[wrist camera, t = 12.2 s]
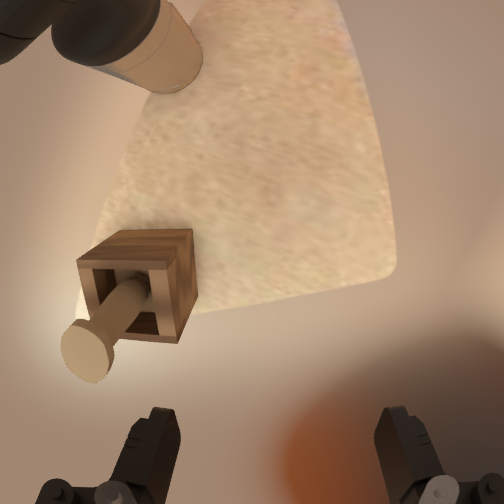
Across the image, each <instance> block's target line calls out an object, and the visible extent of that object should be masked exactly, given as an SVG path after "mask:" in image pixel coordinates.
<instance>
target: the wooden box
mask: <svg viewBox="0 0 504 504" xmlns="http://www.w3.org/2000/svg"><path fill="white" fill-rule="evenodd" d="M76 262H77V266H78V271H79V276H80V280H81V285H82V289H83V293H84V297H85V301H86V305H87V309H88V313H89V316H90V319H91V317H92V316H93V315H94V314H95V312H96V311H97V310H98V308H99V307H100V306H101V304H102V303H103V302H104V300H105V299H106V298H107V297H108V295H109V294H110V293H111V292H112V291H113V290H114V289H115V288H116V287H117V286H118V285H119V284H120V283H122V282H123V281H124V280H126V279H128V278H130V277H132V276H133V275H134V274H135V273H141V274H142V275H143V276H147V277H148V278H149V279H150V280H149V283H150V286H151V293H150V295H149V296H148V298H147V300H146V303H145V304H144V306H143V308H142V310H141V311H140V313H139V314H138V316H137V317H136V319H135V320H134V321H133V322H132V324H131V325H130V326H129V327H128V328H127V330H126V331H125V332H124V333H123V335H122V336H121V337H120V338H119V339H128V340H139V341H149V342H161V343H174V344H178V341H179V339H180V337H181V334H182V332H183V329H184V327H185V325H186V322H187V320H188V318H189V315H190V313H191V311H192V308H193V306H194V304H195V301H196V299H197V297H198V291H197V280H196V269H195V258H194V245H193V232H192V229H160V230H121V231H118V232H117V233H115V234H114V235H112V236H111V237H109V238H108V239H106V240H105V241H103V242H102V243H100V244H99V245H97V246H96V247H94V248H93V249H91V250H90V251H88V252H87V253H85V254H84V255H82V256H81V257H80V258H78V259H77V260H76Z"/></svg>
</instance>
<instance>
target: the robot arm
mask: <svg viewBox="0 0 504 504" xmlns="http://www.w3.org/2000/svg"><path fill="white" fill-rule="evenodd" d="M51 24H52V28H51V35H52V41H53V44H54V46H55V48H56V49H57V51H58V52H59V53H60V54H61V55H62V56H63V57H64V58H66V59H68V60H71V61H73V62H75V63H78V64H81V65H84V66H87V67H90V68H93V69H95V70H98V71H101V72H104V73H107V74H109V75H112V76H115V77H117V78H120V79H122V80H125V81H127V82H130V83H133V84H135V85H138V86H140V87H142V88H145V89H147V90H149V91H152V92H155V93H160V94H168V93H172V92H176V91H178V90H181V89H183V88H184V87H186V86H187V85H188V84H190V83H191V82H192V81H193V80H194V78H195V77H196V76H197V74H198V72H199V70H200V68H201V64H202V51H201V47H200V46H199V44H198V42H197V41H196V39H195V38H194V36H193V35H192V30H191V29H190V27H189V26H188V24H187V23H186V22H185V20H184V19H183V17H182V16H181V15H180V13H179V12H178V11H177V9H176V8H175V6H174V5H173V4H172V3H170V2H168V1H167V0H0V65H1V64H4V63H7V62H9V61H10V60H11V59H13V58H14V57H16V56H17V55H18V54H19V53H21V52H22V51H23V50H24V49H25V48H26V47H27V46H28V45H29V44H31V43H32V42H33V41H34V40H35V39H36V38H37V37H38V36H39V35H40V34H41V33H43V32H44V31H45V30H46V29H47V28H48V27H49V26H50V25H51ZM180 442H181V434H180V429H179V426H178V423H177V420H176V416H175V412H174V410H173V409H167V408H159V407H154V408H153V409H152V411H151V414H150V416H149V419H145V418H140V419H139V420H138V421H137V422H136V423H135V424H134V425H133V426H132V427H131V430H130V432H129V434H128V438H127V439H126V441H125V444H124V447H123V449H122V451H121V454H120V456H119V459H118V461H117V463H116V466H115V468H114V471H113V473H112V476H111V478H110V479H109V480H108V481H107V482H104V483H102V484H101V485H99V486H98V487H94V488H92V487H91V488H90V487H88V488H87V487H72V486H71V485H70V484H69V483H68V482H66V481H65V480H62V479H51V480H49V481H47V482H46V483H45V484H44V485H43V487H42V489H41V491H40V493H39V496H38V498H37V501H36V503H35V504H165V501H166V497H167V493H168V489H169V486H170V482H171V478H172V474H173V470H174V466H175V462H176V459H177V455H178V451H179V447H180ZM374 443H375V447H376V450H377V454H378V458H379V461H380V465H381V469H382V473H383V477H384V480H385V484H386V488H387V492H388V496H389V500H390V504H504V478H503V477H502V476H501V475H499V474H497V473H489V474H486V475H485V476H483V477H482V478H481V479H480V480H479V481H476V482H457V481H456V480H455V479H453V478H452V477H450V476H446V475H445V473H444V471H443V469H442V466H441V464H440V461H439V460H438V457H437V454H436V452H435V449H434V447H433V444H431V440H430V437H429V436H428V433H427V431H426V428H425V426H424V424H423V423H422V422H421V421H420V420H419V419H418V418H417V417H416V416H410V417H409V415H408V413H407V410H406V408H405V407H404V406H403V405H400V406H394V407H387V408H384V410H383V412H382V414H381V417H380V420H379V422H378V424H377V427H376V429H375V433H374Z"/></svg>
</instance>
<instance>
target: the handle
mask: <svg viewBox="0 0 504 504" xmlns="http://www.w3.org/2000/svg"><path fill="white" fill-rule="evenodd" d="M149 280H150V279H149V278H148V277H147V276H143V275H142V274H141V273H135V274H134V275H133V276H132V277H130V278H128V279H126V280H124V281H123V282H122V283H120V284H119V285H118V286H117V287H116V288H115V289H114V290H113V291H112V292H111V293H110V294H109V295H108V297H107V298H106V299H105V300H104V302H103V303H102V304H101V306H100V307H99V308H98V310H97V311H96V312H95V314H94V315H93V316H92V317H91V319H90V320H89V321H88V320H85V319H77V320H76V321H75V322H74V323H73V324H72V325H71V326H70V327H69V328H68V329H67V330H66V331H65V332H64V334H63V335H62V339H61V353H62V356H63V359H64V361H65V364H66V366H67V367H68V369H69V370H70V371H71V372H72V373H74V374H75V375H76V376H78V377H79V378H81V379H83V380H85V381H87V382H90V383H98V382H99V381H101V380H102V379H104V377H105V376H106V375H107V374H108V372H109V370H110V368H111V366H112V363H113V360H114V350H113V346H114V345H115V343H116V342H117V341H118V339H119V338H120V337H121V336H122V335H123V333H124V332H125V331H126V330H127V328H128V327H129V326H130V325H131V324H132V322H133V321H134V320H135V319H136V317H137V316H138V314H139V313H140V311H141V310H142V308H143V306H144V304H145V303H146V300H147V298H148V296H149V295H150V293H151V286H150V283H149Z"/></svg>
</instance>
